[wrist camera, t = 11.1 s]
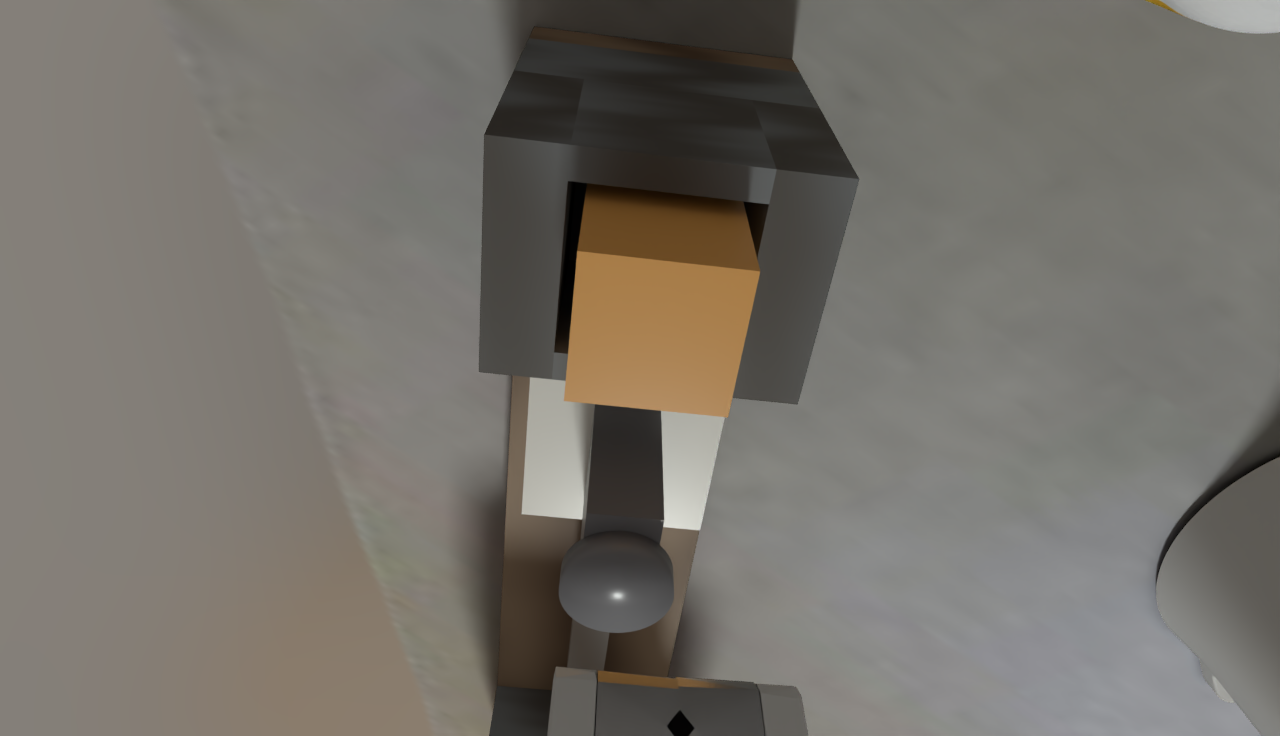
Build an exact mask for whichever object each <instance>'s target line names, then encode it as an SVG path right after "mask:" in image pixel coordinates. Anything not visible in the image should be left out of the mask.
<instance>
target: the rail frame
mask: <svg viewBox="0 0 1280 736" xmlns="http://www.w3.org/2000/svg"><path fill="white" fill-rule="evenodd" d="M858 182H859V178H858V176H857V174H856V172H855V171H854V169H853V167H852V165H851V164H850V162H849V160H848V158H847V156H846V155H845V153H844V151H843V149H842V147H841V146H840V144H839V142H838V140H837V138H836V137H835V135H834V133H833V131H832V129H831V128H830V126H829V124H828V122H827V121H826V119H825V117H824V115H823V113H822V112H821V110H820V108H819V106H818V104H817V103H816V101H815V99H814V97H813V95H812V94H811V92H810V90H809V88H808V86H807V85H806V83H805V81H804V79H803V78H802V76H801V74H800V72H799V70H798V69H797V67H796V65H795V63H794V61H793V60H792V59H785V58H777V57H769V56H761V55H754V54H746V53H738V52H730V51H722V50H714V49H707V48H699V47H691V46H683V45H675V44H667V43H660V42H652V41H644V40H636V39H628V38H620V37H613V36H605V35H597V34H589V33H581V32H573V31H566V30H558V29H550V28H542V27H534V28H533V31H532V33H531V35H530V37H529V39H528V41H527V44H526V46H525V48H524V50H523V52H522V54H521V57H520V59H519V61H518V63H517V65H516V67H515V69H514V72H513V74H512V76H511V78H510V80H509V82H508V85H507V87H506V89H505V91H504V93H503V95H502V97H501V100H500V102H499V104H498V106H497V108H496V110H495V113H494V115H493V117H492V119H491V121H490V123H489V125H488V128H487V130H486V132H485V134H484V168H483V212H482V255H481V299H480V343H479V372H483V373H493V374H503V375H513V376H512V396H511V416H510V437H509V457H508V478H507V498H506V519H505V539H504V560H503V580H502V600H501V621H500V641H499V662H498V682H497V691H496V697H495V703H494V709H493V715H492V722H491V728H490V734H489V736H547V732H548V723H549V714H550V705H551V695H552V686H553V678H554V672H555V668H556V667H566V668H578V669H590V670H596V672H597V671H608V672H618V673H627V674H637V675H646V676H656V677H666V678H667V677H668V672H669V667H670V663H671V658H672V654H673V649H674V645H675V640H676V635H677V631H678V626H679V622H680V617H681V613H682V608H683V603H684V599H685V594H686V590H687V585H688V581H689V576H690V571H691V567H692V562H693V558H694V553H695V549H696V544H697V539H698V535H699V530H690V529H679V528H668V527H663V530H662V536H661V541H660V546H661V547H662V548H663V549H664V550H665V551H666V552H667V554H668V555H669V557H670V559H671V561H672V565H673V578H674V600H673V603H672V605H671V607H670V609H669V611H668V612H667V613H666V615H665V616H664V617H663V618H661V619H660V620H659V621H658V622H656V623H654V624H653V625H651V626H648V627H646V628H643V629H640V630H637V631H632V632H625V633H610V632H602V631H598V630H594V629H591V628H588V627H586V626H584V625H582V624H580V623H578V622H577V621H575V620H574V619H573V618H572V617H570V616H569V615H568V614H567V612H566V611H565V610H564V608H563V607H562V605H561V602H560V599H559V583H560V573H561V565H562V561H563V558H564V556H565V554H566V553H567V551H568V550H569V549H570V548H571V547H572V546H573V545H574V544H575V543H576V542H578V541H579V540H581V529H582V520H581V519H570V518H559V517H548V516H537V515H526V514H522V499H523V483H524V467H525V451H526V435H527V419H528V403H529V387H530V377H533V378H542V379H552V380H562V381H566V371H567V360H568V349H569V338H570V327H571V316H572V305H573V294H574V283H575V271H576V260H577V250H578V243H579V236H580V229H581V222H582V215H583V208H584V201H585V194H586V187H587V183H590V184H598V185H607V186H616V187H624V188H633V189H641V190H650V191H659V192H667V193H676V194H684V195H693V196H701V197H710V198H719V199H727V200H736V201H743V203H744V207H745V211H746V215H747V219H748V223H749V227H750V231H751V235H752V239H753V243H754V248H755V252H756V256H757V260H758V264H759V268H760V275H759V280H758V284H757V289H756V293H755V298H754V302H753V307H752V311H751V316H750V320H749V325H748V329H747V334H746V338H745V343H744V347H743V352H742V356H741V361H740V365H739V370H738V374H737V379H736V383H735V388H734V392H733V397H732V398H739V399H749V400H759V401H769V402H779V403H788V404H798V401H799V397H800V394H801V390H802V386H803V383H804V379H805V375H806V372H807V368H808V364H809V361H810V357H811V353H812V350H813V346H814V343H815V339H816V335H817V332H818V328H819V324H820V321H821V317H822V313H823V310H824V306H825V302H826V299H827V295H828V291H829V288H830V284H831V281H832V277H833V273H834V270H835V266H836V262H837V259H838V255H839V251H840V248H841V244H842V240H843V237H844V233H845V230H846V226H847V222H848V219H849V215H850V211H851V208H852V204H853V200H854V197H855V193H856V189H857V186H858Z"/></svg>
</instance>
